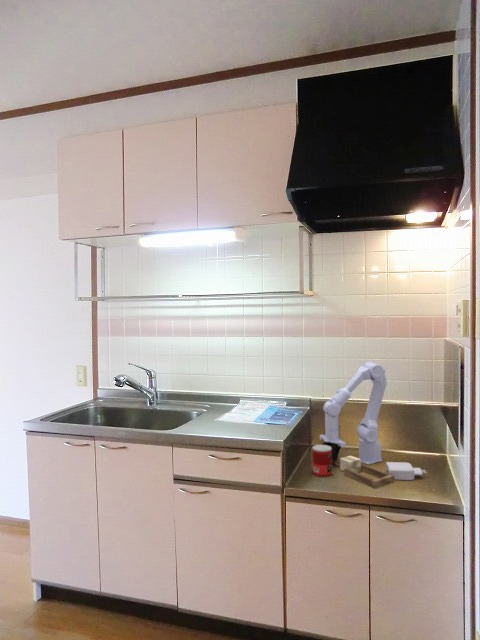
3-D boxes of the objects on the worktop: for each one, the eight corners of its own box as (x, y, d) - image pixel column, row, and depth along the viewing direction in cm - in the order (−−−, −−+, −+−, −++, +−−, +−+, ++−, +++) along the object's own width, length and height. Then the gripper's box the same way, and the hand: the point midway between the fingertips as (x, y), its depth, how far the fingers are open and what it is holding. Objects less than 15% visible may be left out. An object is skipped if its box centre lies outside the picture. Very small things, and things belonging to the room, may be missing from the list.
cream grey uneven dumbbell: (335, 461, 210) (335, 448, 209) (360, 471, 197) (360, 457, 196) (325, 463, 206) (325, 451, 206) (350, 474, 193) (350, 460, 193)
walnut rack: (362, 469, 199) (362, 463, 199) (394, 481, 185) (394, 475, 185) (344, 475, 193) (344, 469, 193) (374, 488, 179) (374, 481, 179)
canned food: (332, 477, 191) (331, 450, 191) (312, 476, 193) (311, 450, 192) (332, 470, 199) (331, 445, 198) (313, 469, 200) (312, 444, 200)
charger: (428, 481, 184) (389, 480, 187) (423, 473, 194) (385, 472, 196) (428, 470, 184) (389, 468, 187) (423, 462, 193) (385, 461, 196)
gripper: (314, 426, 210) (314, 456, 211) (336, 434, 198) (337, 465, 199) (326, 424, 214) (326, 453, 215) (348, 431, 202) (349, 462, 202)
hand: (332, 459), depth 207 cm, fingers closed on cream grey uneven dumbbell, 2 cm apart
